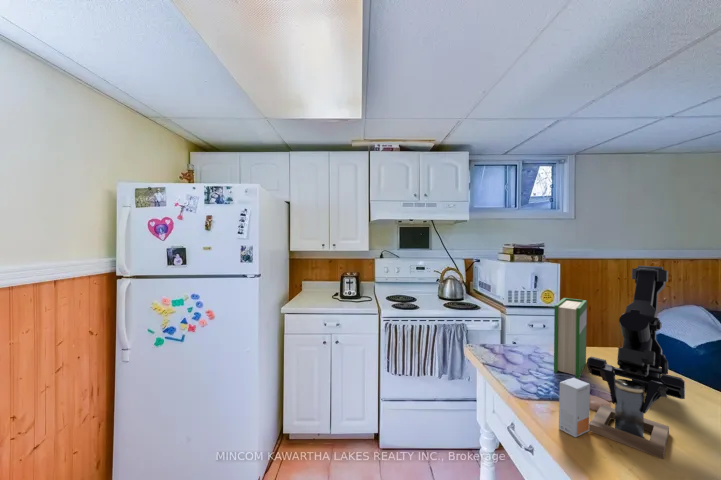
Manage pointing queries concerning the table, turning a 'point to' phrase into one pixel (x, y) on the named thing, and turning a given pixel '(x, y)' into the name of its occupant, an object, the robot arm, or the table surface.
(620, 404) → the tea tin
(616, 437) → the pocket frame
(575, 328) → the hardback book
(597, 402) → the coaster
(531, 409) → the table surface
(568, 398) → the skincare box
